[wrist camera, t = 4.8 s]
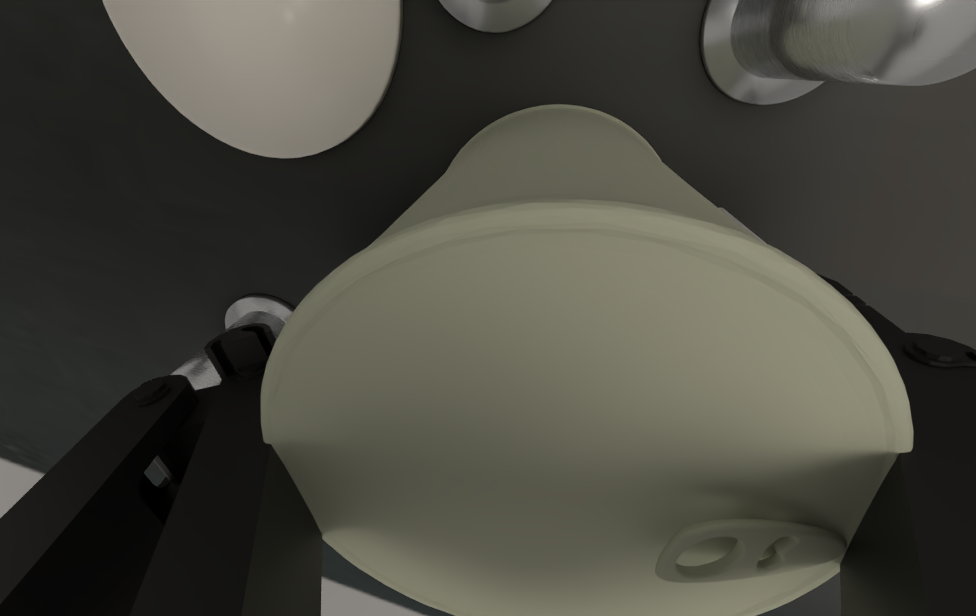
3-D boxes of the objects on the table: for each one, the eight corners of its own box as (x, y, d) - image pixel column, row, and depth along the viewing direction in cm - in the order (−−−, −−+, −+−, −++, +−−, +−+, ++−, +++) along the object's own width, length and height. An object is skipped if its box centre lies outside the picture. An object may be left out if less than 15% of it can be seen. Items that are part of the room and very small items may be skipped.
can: (637, 344, 18) (752, 710, 8) (434, 317, 19) (293, 619, 8) (712, 117, 13) (1266, 289, 3) (435, 91, 14) (116, 159, 4)
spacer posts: (267, 395, 23) (185, 490, 18) (33, -50, 13) (-290, -123, 8) (765, 391, 18) (849, 517, 13) (949, -291, 9) (1509, -793, 4)
